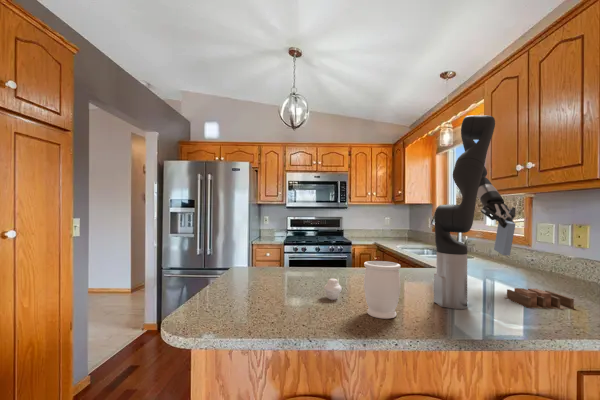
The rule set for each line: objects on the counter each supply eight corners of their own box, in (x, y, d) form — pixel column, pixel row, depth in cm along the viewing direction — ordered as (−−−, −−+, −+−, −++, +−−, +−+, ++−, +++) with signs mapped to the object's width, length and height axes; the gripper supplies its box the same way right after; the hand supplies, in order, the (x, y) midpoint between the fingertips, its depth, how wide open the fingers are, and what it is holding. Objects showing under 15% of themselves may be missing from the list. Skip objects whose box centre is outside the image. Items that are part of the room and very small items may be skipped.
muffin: (320, 297, 103) (320, 277, 103) (332, 294, 107) (332, 275, 108) (333, 302, 99) (333, 280, 99) (345, 298, 103) (345, 278, 103)
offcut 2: (541, 305, 97) (541, 293, 97) (527, 300, 102) (527, 288, 103) (551, 305, 96) (551, 293, 97) (536, 300, 102) (536, 288, 103)
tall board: (503, 255, 116) (509, 223, 113) (493, 249, 122) (499, 219, 119) (509, 255, 116) (515, 223, 113) (500, 249, 122) (505, 219, 119)
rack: (527, 310, 94) (527, 298, 94) (504, 300, 105) (504, 289, 105) (575, 312, 94) (575, 299, 94) (546, 301, 105) (546, 290, 105)
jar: (380, 323, 81) (380, 267, 81) (356, 311, 90) (357, 261, 90) (408, 317, 86) (408, 265, 86) (382, 306, 95) (383, 259, 95)
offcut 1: (527, 305, 97) (527, 292, 97) (514, 299, 103) (514, 288, 103) (536, 305, 97) (536, 293, 97) (523, 300, 103) (523, 288, 103)
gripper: (476, 189, 125) (495, 219, 112) (509, 190, 125) (532, 220, 112) (469, 202, 130) (486, 232, 117) (501, 203, 130) (522, 233, 117)
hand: (509, 226), depth 115 cm, fingers closed on tall board, 2 cm apart
